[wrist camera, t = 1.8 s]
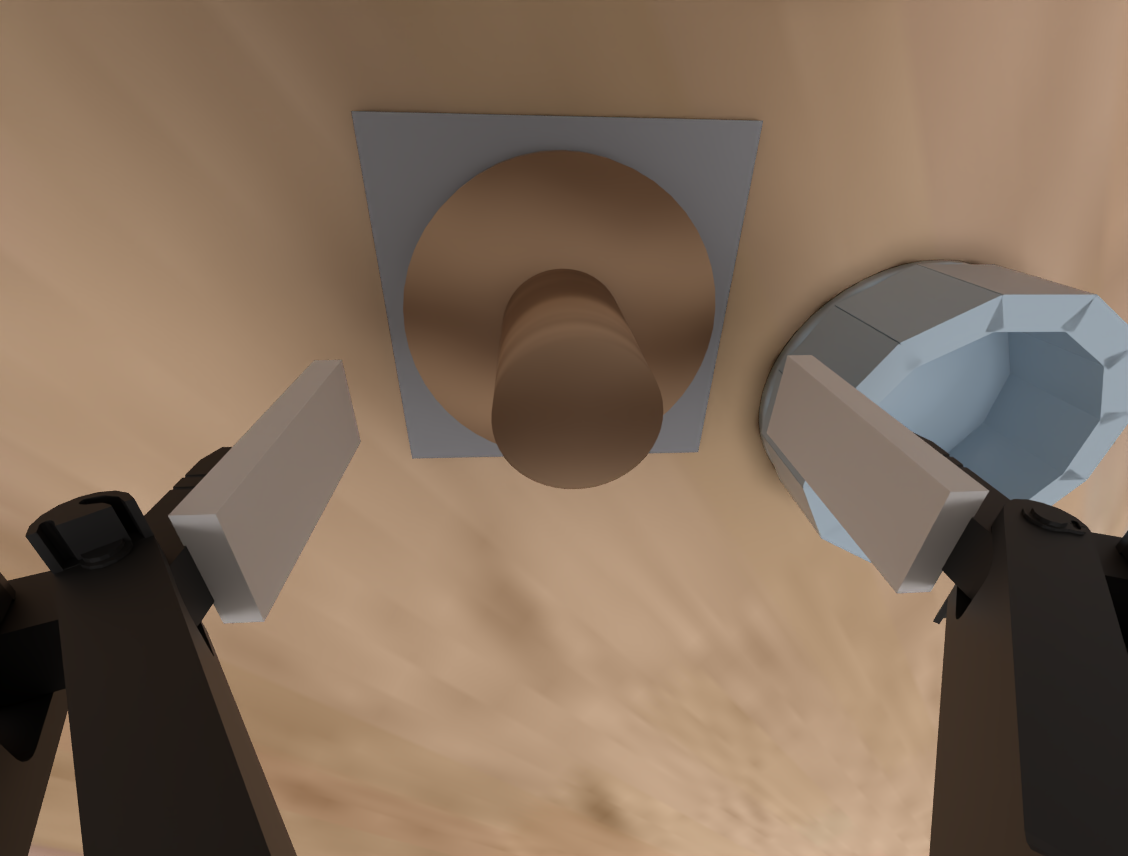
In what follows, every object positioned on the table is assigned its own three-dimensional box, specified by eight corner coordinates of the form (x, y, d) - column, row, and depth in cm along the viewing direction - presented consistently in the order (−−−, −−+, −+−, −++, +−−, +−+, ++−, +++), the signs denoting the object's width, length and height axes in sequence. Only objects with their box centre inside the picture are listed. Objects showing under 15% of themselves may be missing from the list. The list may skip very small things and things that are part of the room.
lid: (387, 146, 17) (282, 162, 10) (729, 153, 18) (871, 172, 10) (430, 440, 23) (387, 583, 16) (681, 435, 24) (747, 570, 17)
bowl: (797, 259, 20) (869, 294, 16) (1080, 260, 21) (1221, 294, 17) (735, 496, 27) (775, 566, 22) (953, 490, 27) (1031, 556, 23)
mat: (354, 111, 16) (351, 111, 16) (758, 120, 17) (762, 120, 17) (413, 453, 24) (412, 458, 24) (695, 447, 25) (697, 452, 24)
